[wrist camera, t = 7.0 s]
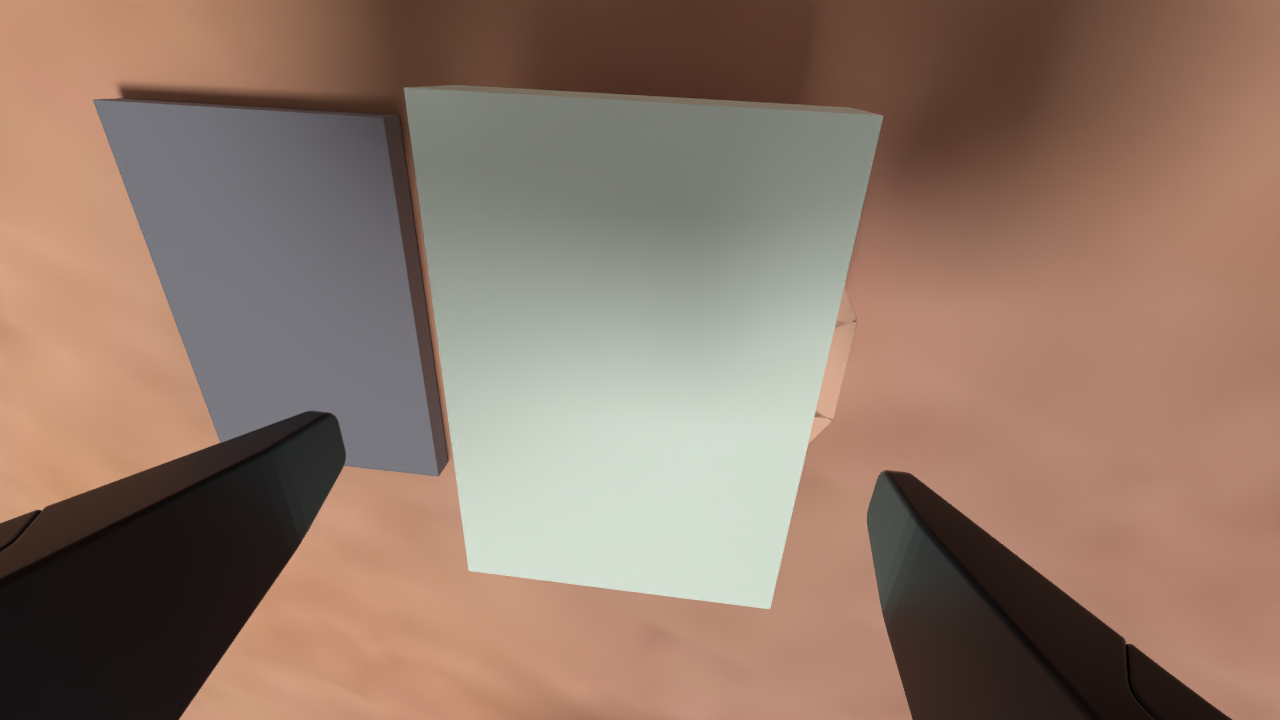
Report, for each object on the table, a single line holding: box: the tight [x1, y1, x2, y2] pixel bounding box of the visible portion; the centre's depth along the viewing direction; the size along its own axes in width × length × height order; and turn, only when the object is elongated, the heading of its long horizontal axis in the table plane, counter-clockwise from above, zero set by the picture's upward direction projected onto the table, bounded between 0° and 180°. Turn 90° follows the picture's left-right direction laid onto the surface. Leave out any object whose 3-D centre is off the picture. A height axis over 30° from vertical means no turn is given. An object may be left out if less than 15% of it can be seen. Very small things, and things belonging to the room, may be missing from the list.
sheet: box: [404, 85, 883, 609], centre depth 12 cm, size 7×10×2 cm
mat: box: [93, 98, 448, 476], centre depth 17 cm, size 8×12×1 cm
